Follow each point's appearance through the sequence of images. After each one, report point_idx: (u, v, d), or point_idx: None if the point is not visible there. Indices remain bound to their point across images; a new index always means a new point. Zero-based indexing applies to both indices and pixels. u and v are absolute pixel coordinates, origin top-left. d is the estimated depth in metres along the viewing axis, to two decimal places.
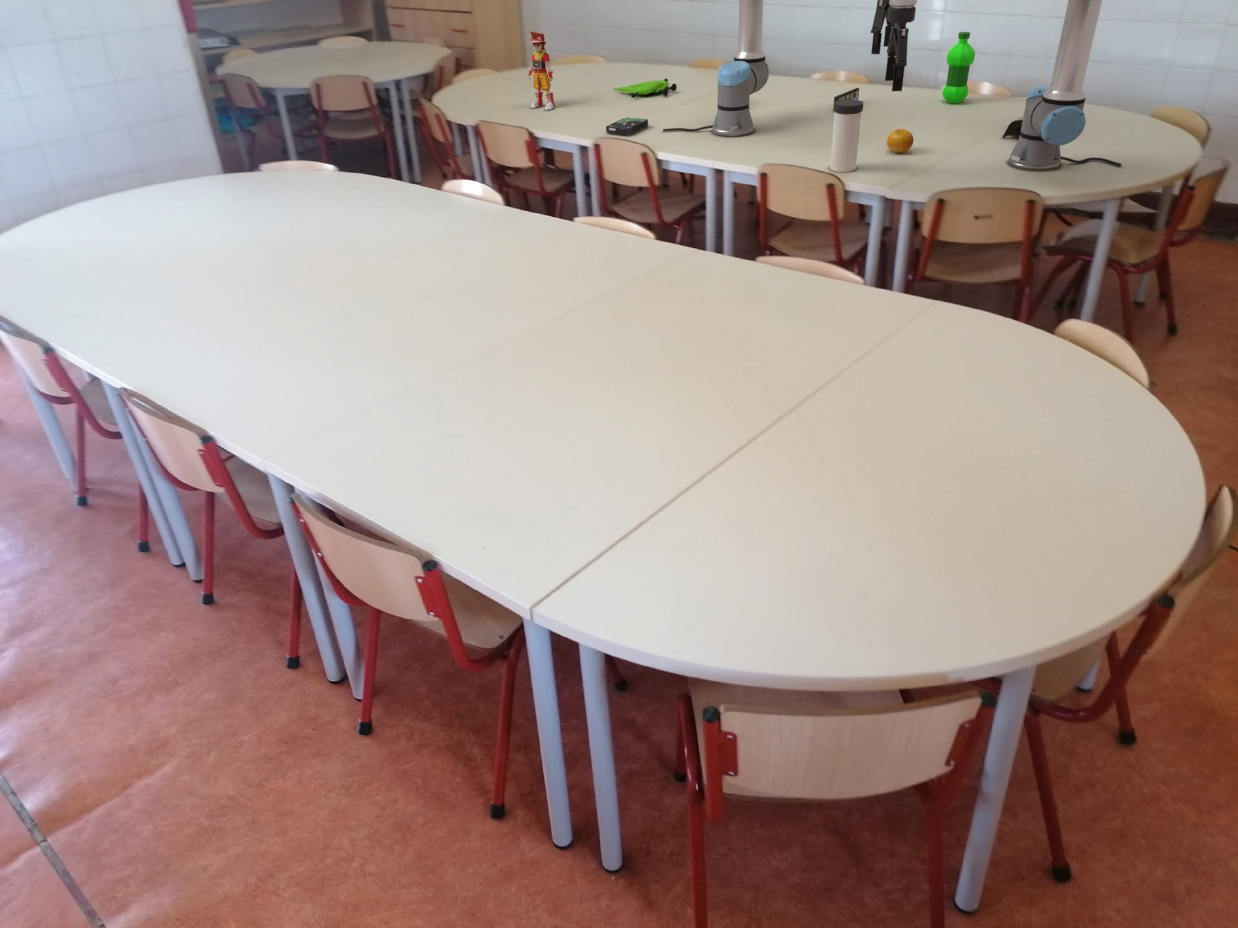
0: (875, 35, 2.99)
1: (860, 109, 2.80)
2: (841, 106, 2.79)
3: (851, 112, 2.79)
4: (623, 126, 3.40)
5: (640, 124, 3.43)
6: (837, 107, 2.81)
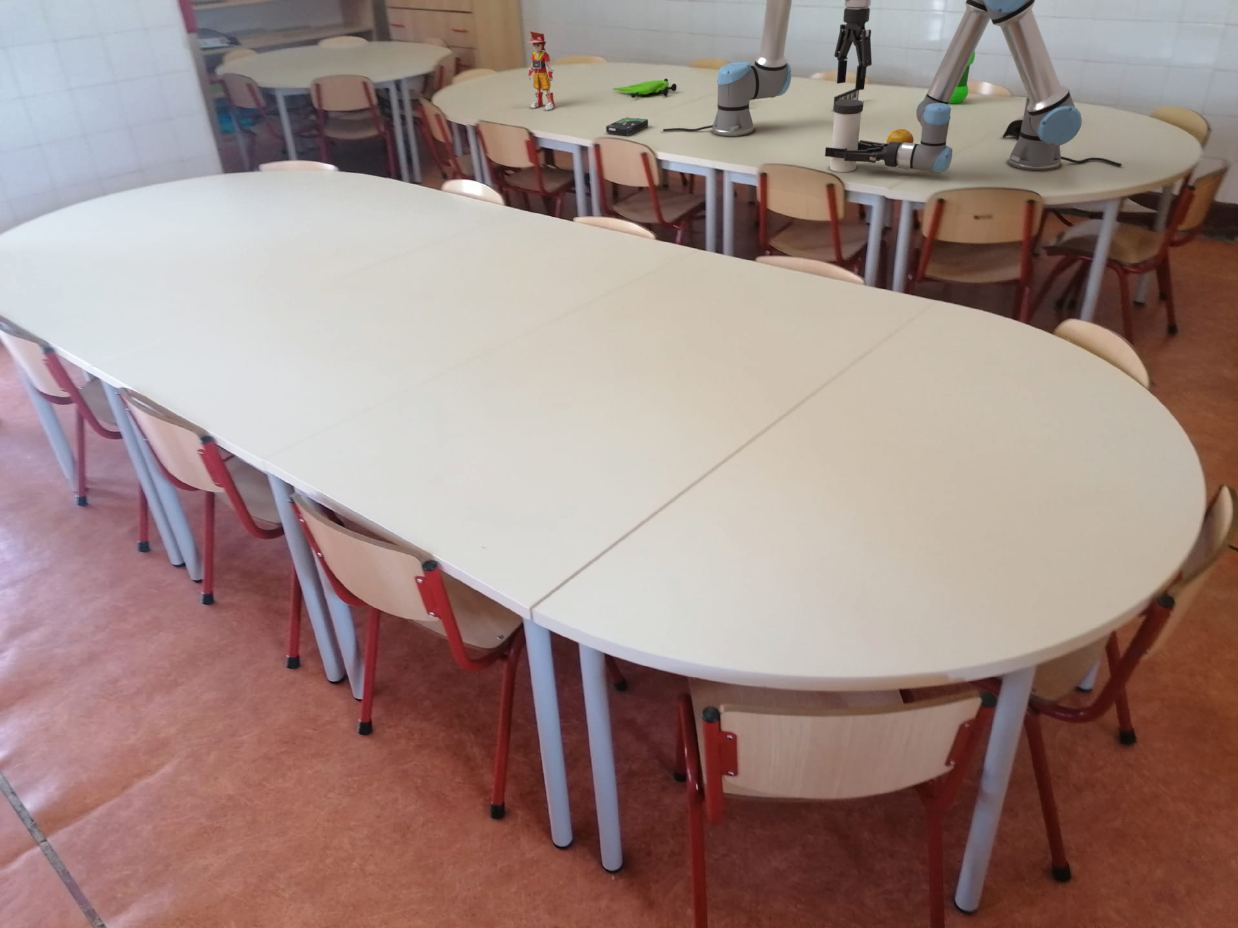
0: None
1: (860, 109, 2.80)
2: (841, 106, 2.79)
3: (851, 112, 2.79)
4: (623, 126, 3.40)
5: (640, 124, 3.43)
6: (837, 107, 2.80)
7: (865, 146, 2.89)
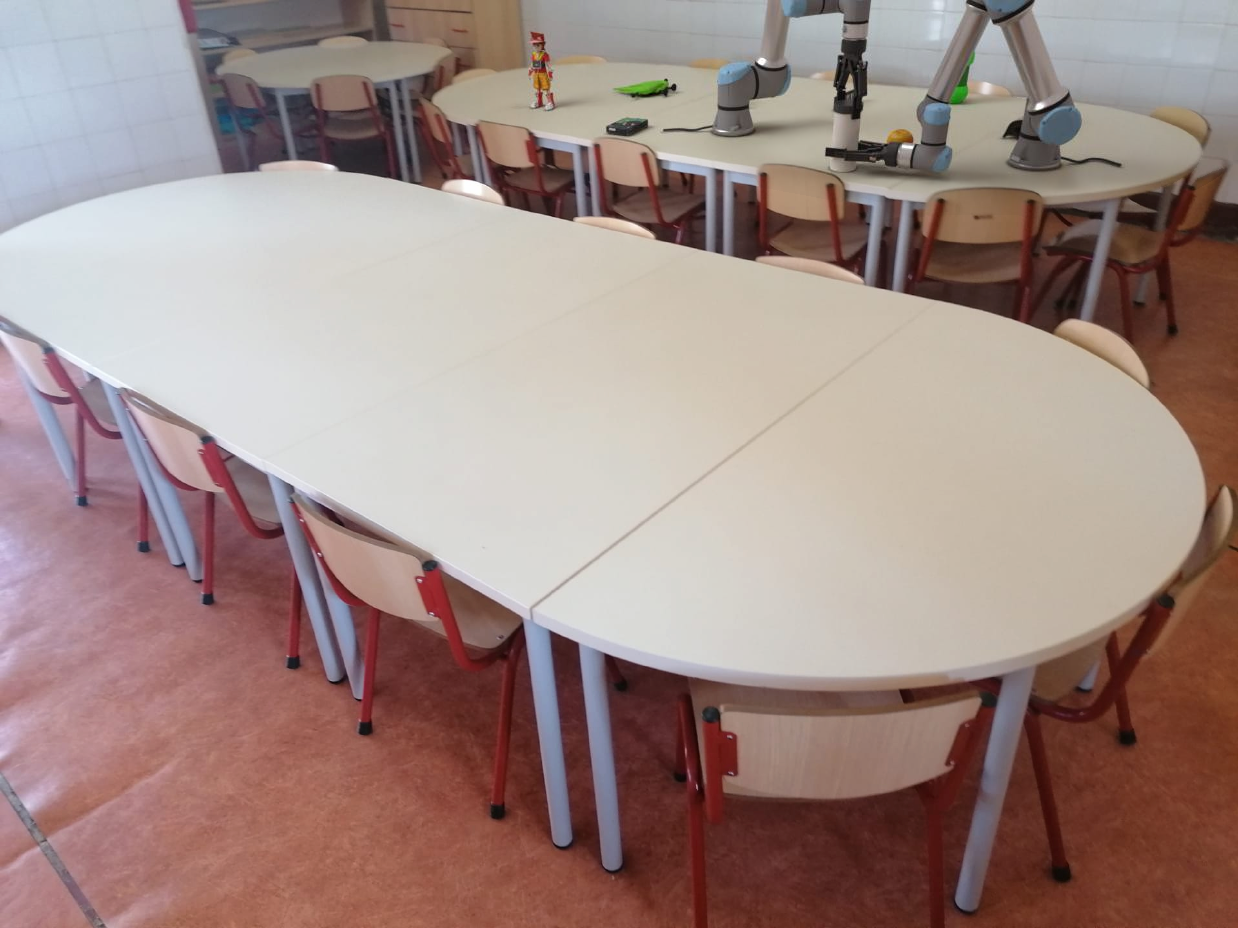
0: None
1: None
2: (841, 106, 2.79)
3: (851, 112, 2.79)
4: (623, 126, 3.40)
5: (640, 124, 3.43)
6: (837, 107, 2.80)
7: (865, 146, 2.89)
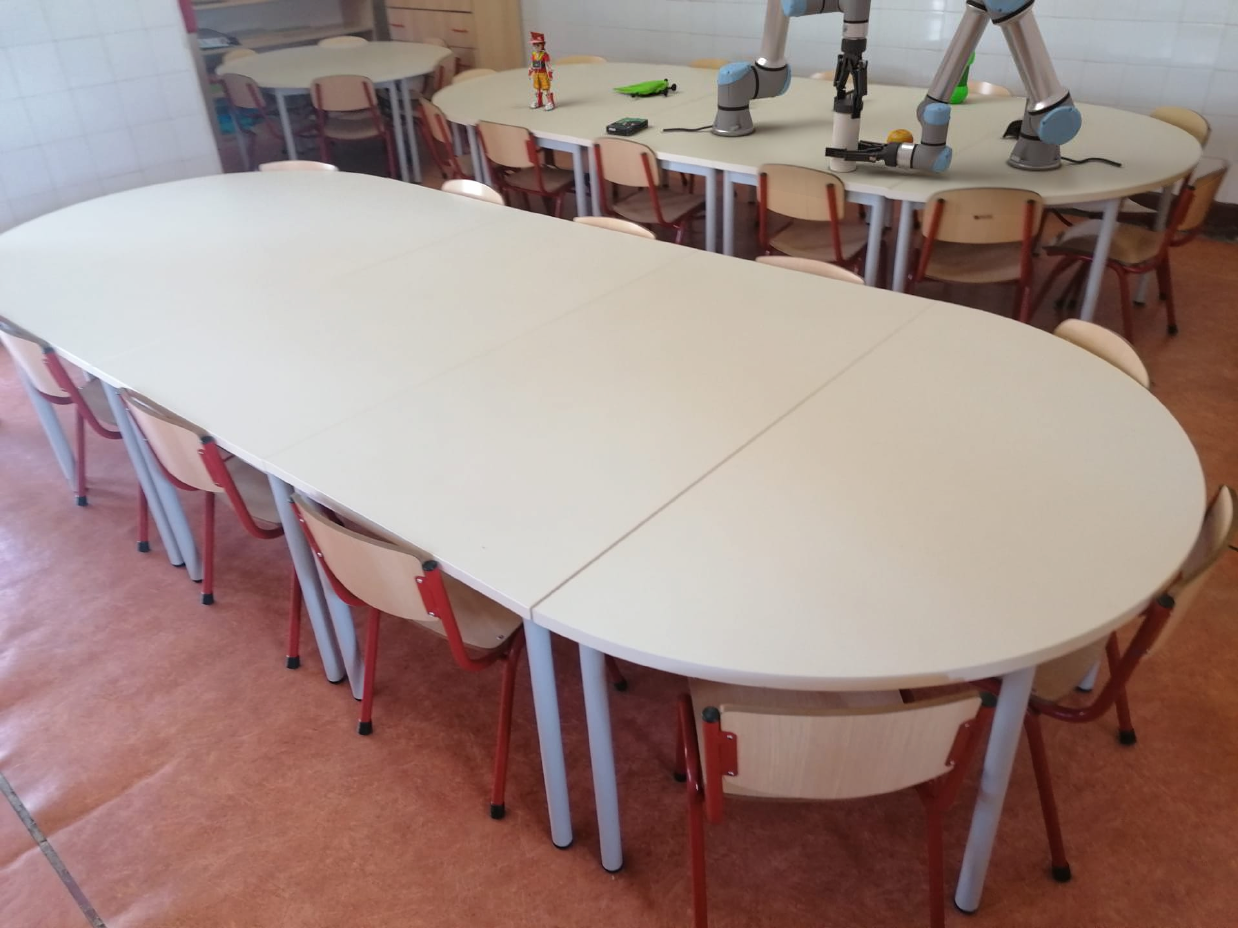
0: None
1: None
2: None
3: (862, 108, 2.81)
4: (623, 126, 3.40)
5: (640, 124, 3.43)
6: None
7: (865, 146, 2.89)
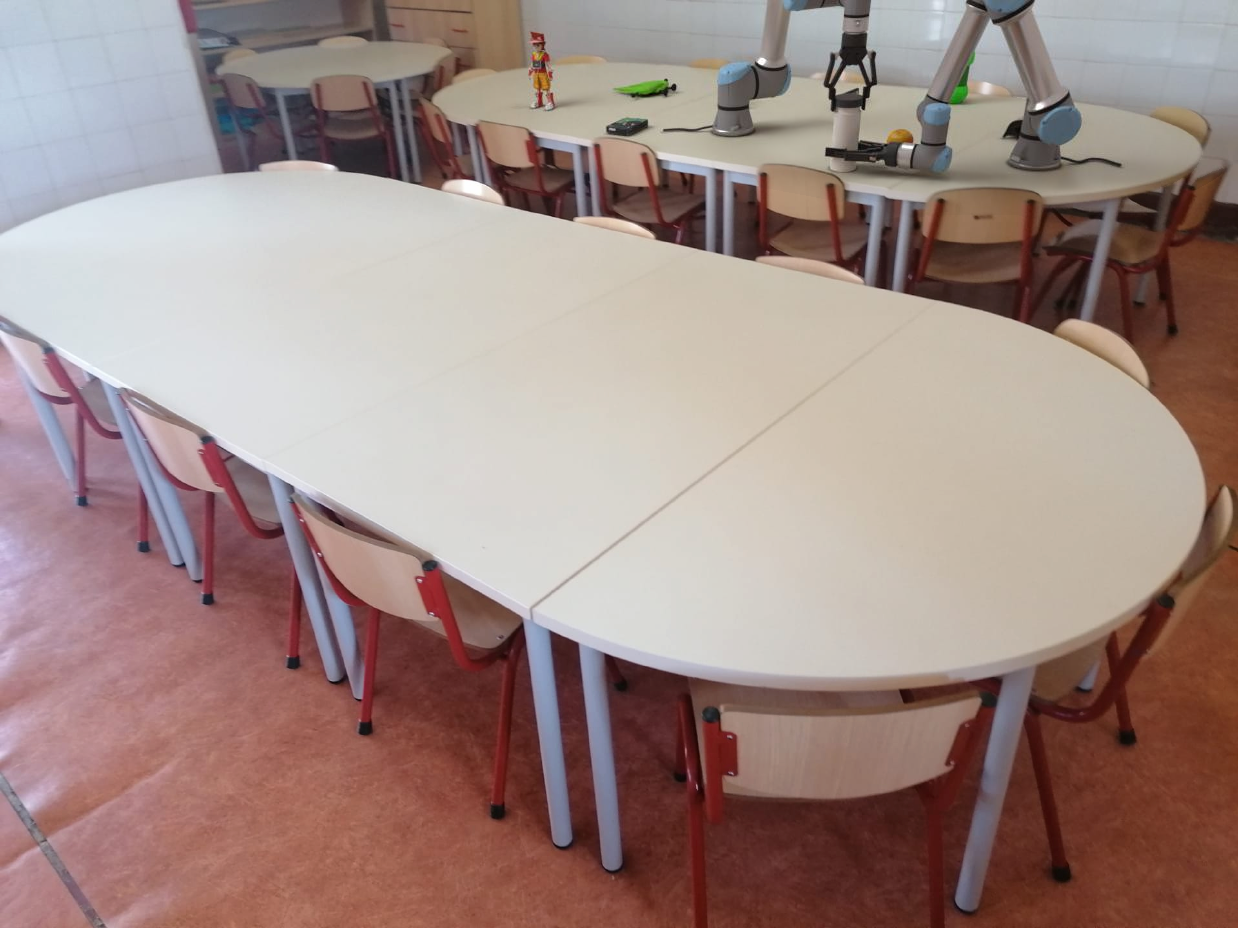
0: (829, 90, 2.80)
1: None
2: None
3: None
4: (623, 126, 3.40)
5: (640, 124, 3.43)
6: None
7: (865, 146, 2.89)
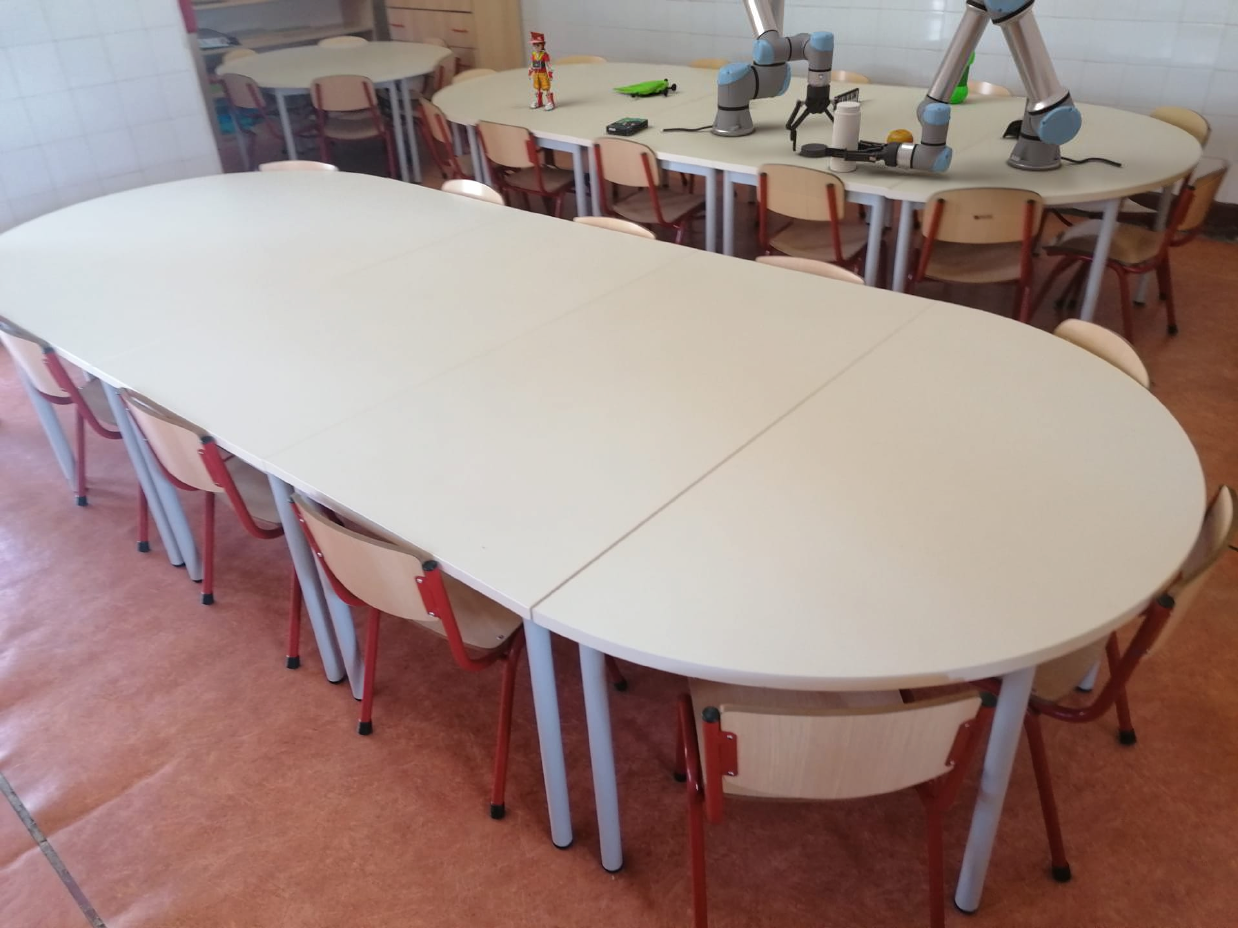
0: (790, 132, 3.05)
1: None
2: None
3: None
4: (623, 126, 3.40)
5: (640, 124, 3.43)
6: None
7: (865, 146, 2.89)
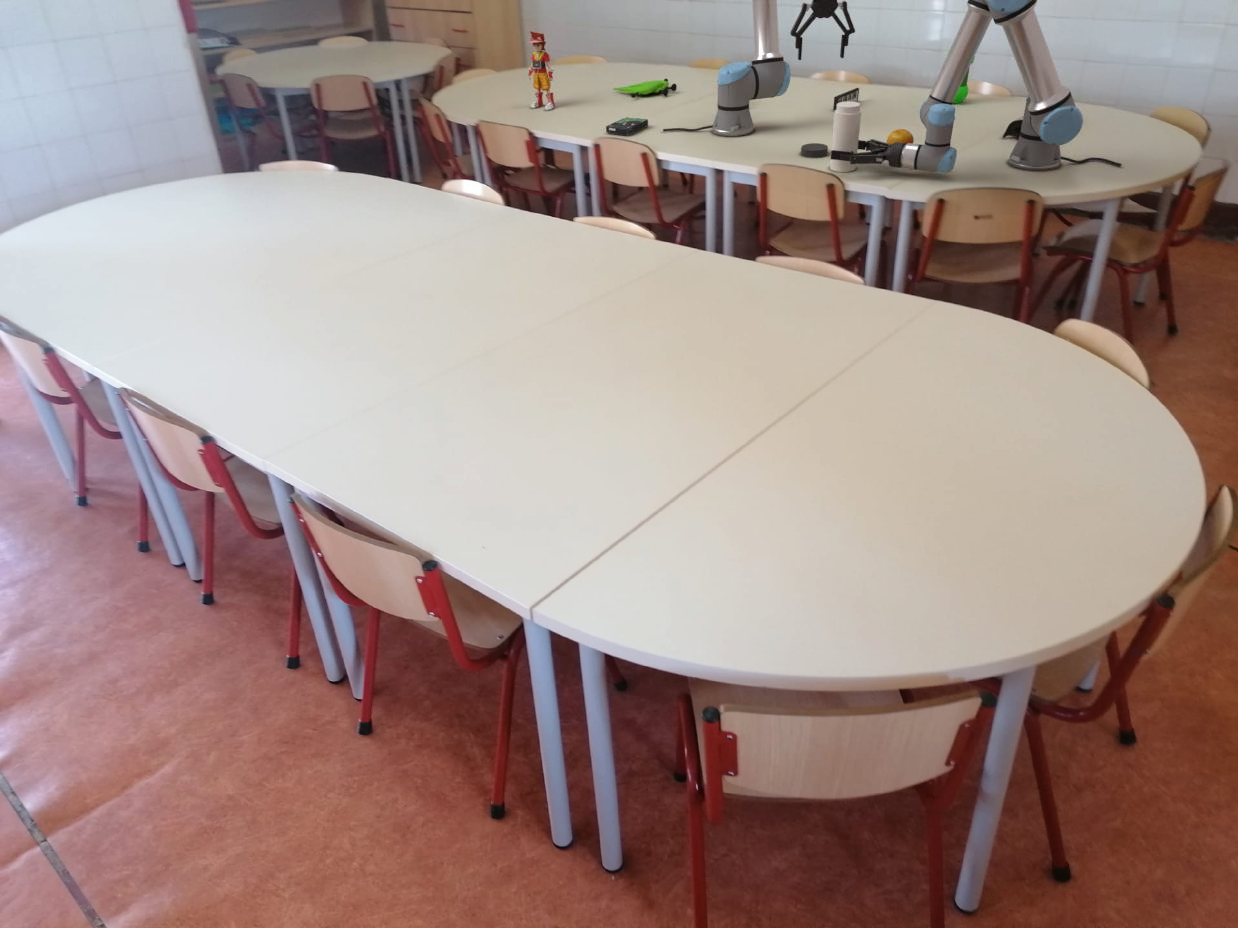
0: (796, 39, 2.88)
1: None
2: None
3: None
4: (623, 126, 3.40)
5: (640, 124, 3.43)
6: (827, 149, 3.06)
7: (873, 146, 2.89)
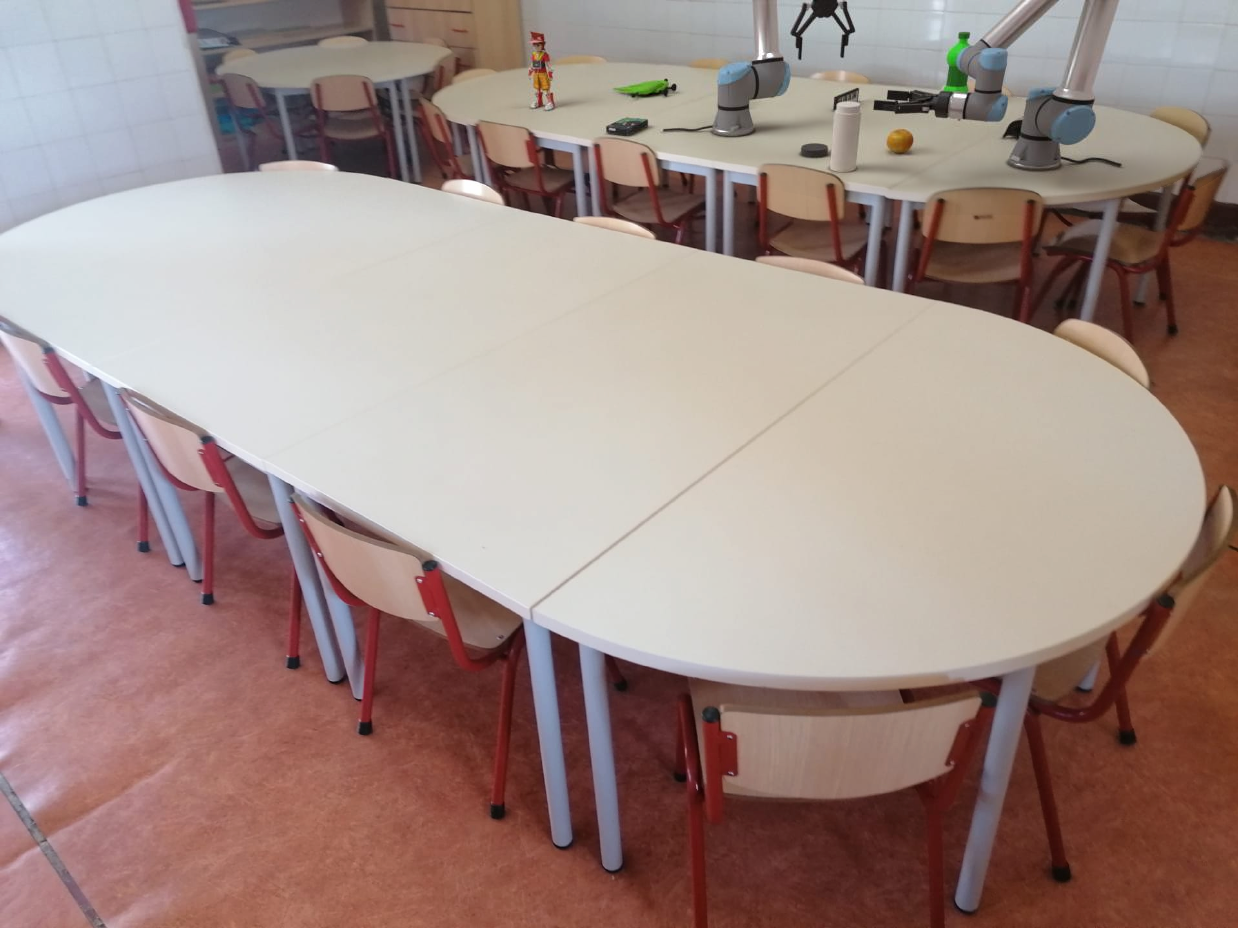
0: (796, 39, 2.88)
1: None
2: None
3: None
4: (623, 126, 3.40)
5: (640, 124, 3.43)
6: (827, 149, 3.06)
7: (917, 96, 2.75)
